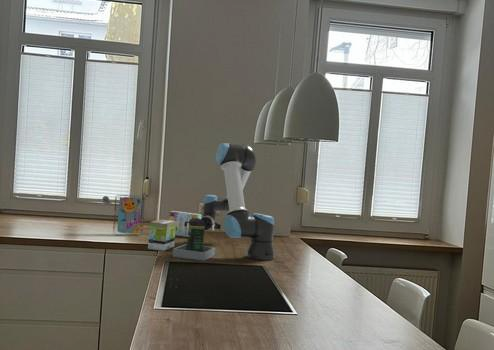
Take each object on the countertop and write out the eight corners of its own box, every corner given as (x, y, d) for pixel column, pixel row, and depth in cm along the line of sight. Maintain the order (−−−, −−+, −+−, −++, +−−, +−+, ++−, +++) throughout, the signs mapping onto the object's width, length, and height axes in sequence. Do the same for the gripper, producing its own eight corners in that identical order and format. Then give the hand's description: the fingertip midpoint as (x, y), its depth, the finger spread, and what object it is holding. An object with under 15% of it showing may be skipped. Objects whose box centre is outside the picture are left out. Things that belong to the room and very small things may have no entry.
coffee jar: (204, 255, 262) (206, 219, 262) (188, 255, 260) (191, 219, 259) (199, 252, 272) (202, 217, 271) (185, 252, 269) (187, 216, 268)
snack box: (200, 237, 327) (202, 214, 327) (195, 238, 322) (197, 214, 322) (172, 233, 336) (173, 210, 335) (167, 234, 331) (169, 210, 330)
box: (100, 235, 305) (103, 194, 304) (99, 234, 311) (101, 193, 310) (142, 236, 315) (145, 196, 314) (140, 234, 320) (143, 195, 320)
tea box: (165, 251, 273) (167, 223, 272) (147, 249, 275) (149, 221, 274) (174, 246, 287) (176, 220, 287) (157, 244, 289) (159, 218, 289)
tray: (215, 255, 272) (215, 247, 272) (204, 260, 255) (204, 252, 255) (185, 251, 276) (185, 244, 276) (172, 256, 259) (173, 248, 259)
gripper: (227, 231, 297) (222, 235, 276) (184, 227, 299) (176, 232, 278) (228, 218, 297) (223, 222, 276) (185, 214, 299) (177, 218, 278)
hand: (200, 227), depth 277 cm, fingers open, 13 cm apart
